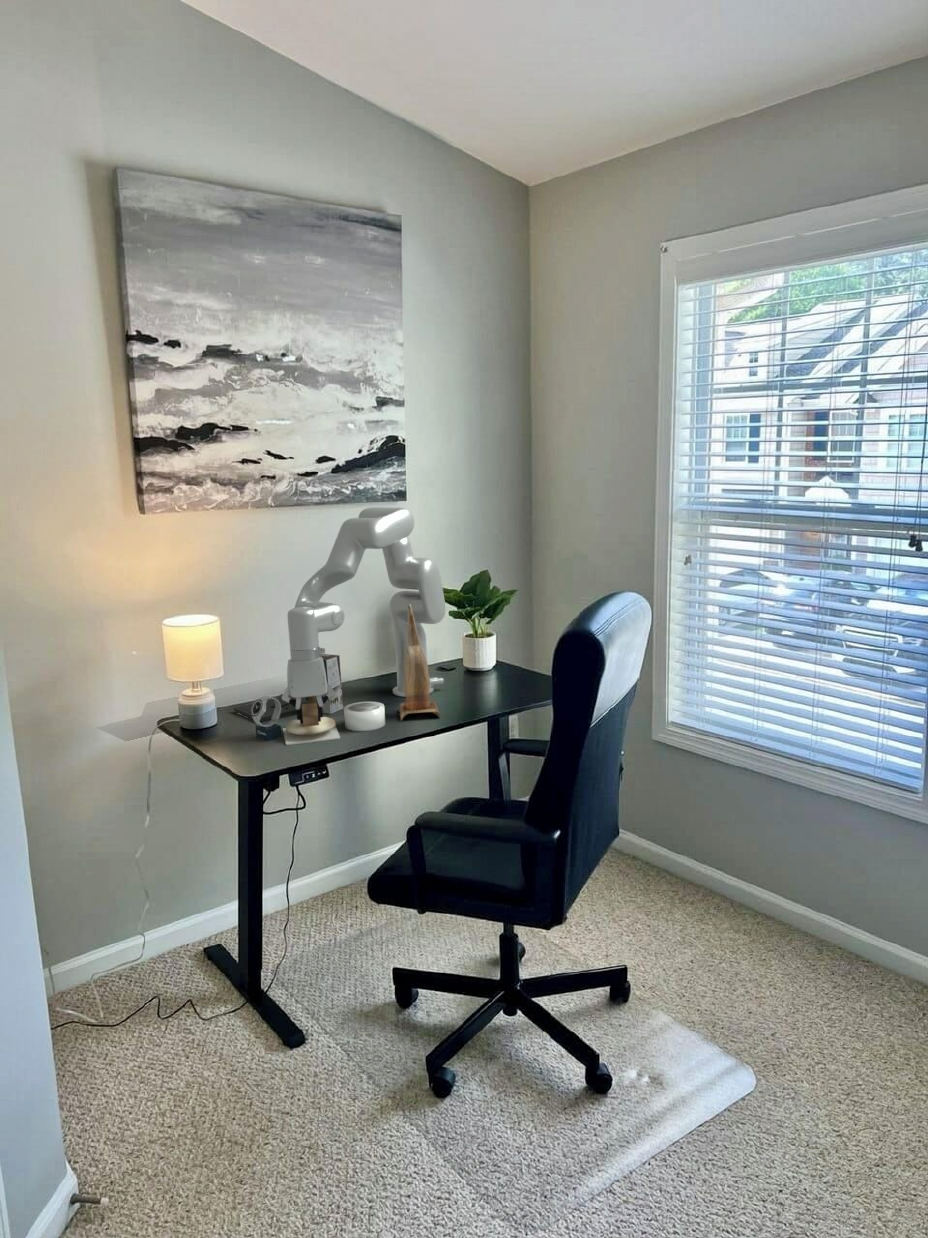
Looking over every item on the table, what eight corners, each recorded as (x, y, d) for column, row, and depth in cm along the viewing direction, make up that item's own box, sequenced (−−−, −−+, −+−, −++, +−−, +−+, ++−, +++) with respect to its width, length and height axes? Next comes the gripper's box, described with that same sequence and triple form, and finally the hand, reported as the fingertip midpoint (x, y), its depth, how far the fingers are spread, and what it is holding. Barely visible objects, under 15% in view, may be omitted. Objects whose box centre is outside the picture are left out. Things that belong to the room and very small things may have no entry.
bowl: (381, 717, 251) (380, 699, 250) (388, 728, 241) (387, 710, 240) (342, 721, 249) (341, 704, 248) (347, 733, 238) (346, 715, 237)
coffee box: (344, 708, 261) (340, 655, 258) (330, 714, 256) (326, 659, 253) (320, 705, 266) (316, 652, 263) (305, 711, 260) (301, 657, 257)
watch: (250, 738, 237) (246, 698, 235) (275, 731, 242) (272, 692, 240) (261, 743, 233) (257, 702, 231) (287, 735, 238) (284, 695, 236)
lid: (332, 717, 246) (330, 693, 244) (337, 730, 233) (336, 705, 232) (284, 722, 243) (282, 698, 241) (287, 736, 230) (285, 711, 229)
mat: (334, 724, 247) (334, 722, 247) (340, 739, 233) (340, 737, 233) (283, 729, 243) (282, 728, 243) (286, 745, 230) (285, 744, 230)
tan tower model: (436, 708, 259) (429, 599, 254) (441, 718, 247) (434, 604, 242) (398, 712, 257) (390, 602, 252) (401, 722, 246) (393, 607, 241)
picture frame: (296, 699, 275) (234, 714, 262) (295, 691, 275) (233, 705, 262) (323, 709, 264) (259, 725, 250) (322, 700, 263) (258, 716, 250)
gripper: (335, 648, 240) (340, 713, 243) (272, 654, 236) (277, 721, 239) (338, 654, 233) (343, 721, 236) (273, 660, 229) (279, 729, 232)
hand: (310, 720), depth 238 cm, fingers closed on lid, 4 cm apart
